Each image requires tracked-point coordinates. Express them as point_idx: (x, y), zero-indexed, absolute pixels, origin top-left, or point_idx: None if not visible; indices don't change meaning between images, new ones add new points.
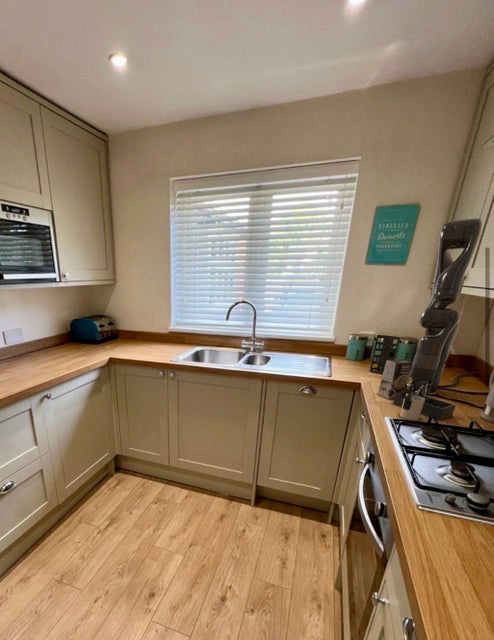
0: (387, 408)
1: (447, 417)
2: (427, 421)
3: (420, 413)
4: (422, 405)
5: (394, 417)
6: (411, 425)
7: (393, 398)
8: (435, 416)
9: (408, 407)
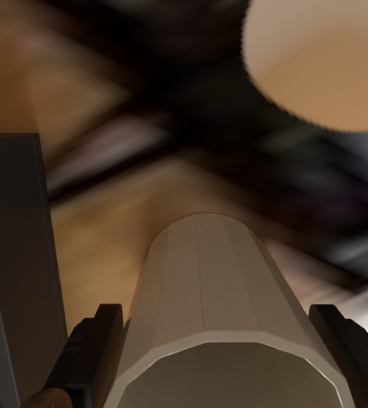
0: None
1: None
2: (155, 165)
3: (191, 235)
4: (214, 279)
5: None
6: (356, 177)
7: None
8: (34, 171)
9: (342, 325)
